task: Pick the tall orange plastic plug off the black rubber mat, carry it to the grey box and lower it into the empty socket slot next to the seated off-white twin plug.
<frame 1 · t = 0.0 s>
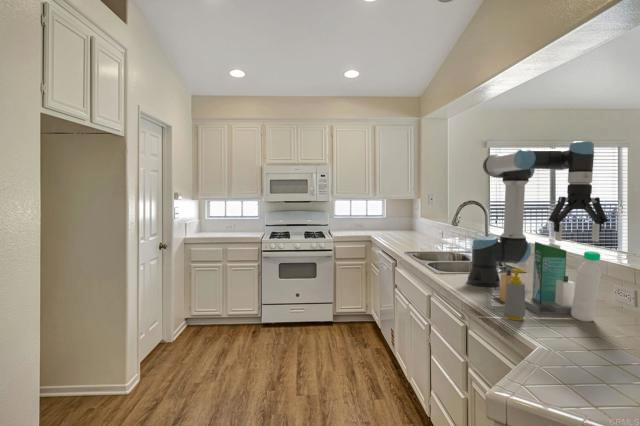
hand: (576, 241, 144), 28 cm above the worktop, fingers open, 13 cm apart
soap bottle: (514, 318, 141), on the worktop
water bottle: (581, 318, 142), on the worktop, touching grey box
plug: (507, 301, 161), point 1 cm above the worktop, touching mat
grey box: (553, 311, 149), on the worktop
milk carton: (547, 302, 163), on the worktop
mat: (507, 302, 161), on the worktop
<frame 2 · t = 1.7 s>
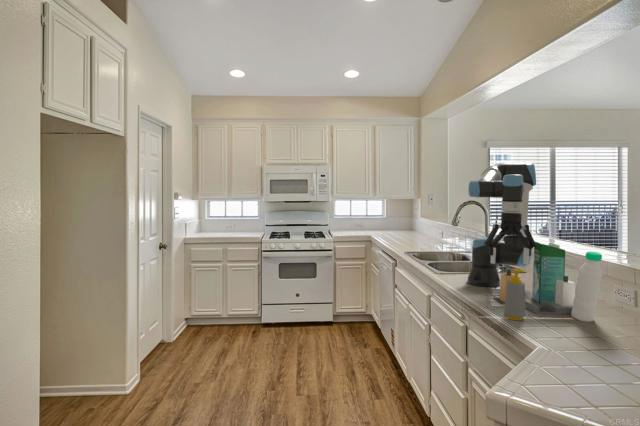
hand: (509, 263, 160), 16 cm above the worktop, fingers open, 13 cm apart
nothing on the worktop moved.
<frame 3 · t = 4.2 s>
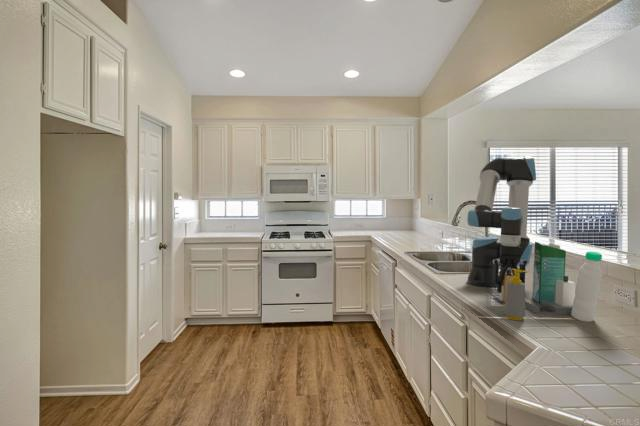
hand: (507, 300, 161), 1 cm above the worktop, fingers closed on mat, 5 cm apart
nothing on the worktop moved.
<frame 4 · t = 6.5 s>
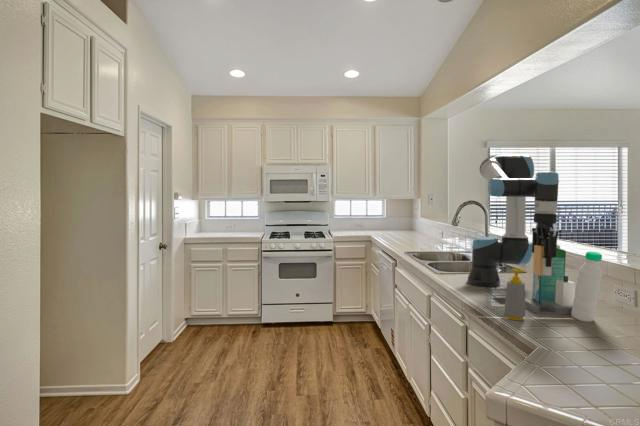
hand: (542, 273, 148), 15 cm above the worktop, fingers closed on plug, 4 cm apart
plug: (542, 274, 148), point 15 cm above the worktop, touching gripper
everything else where it was.
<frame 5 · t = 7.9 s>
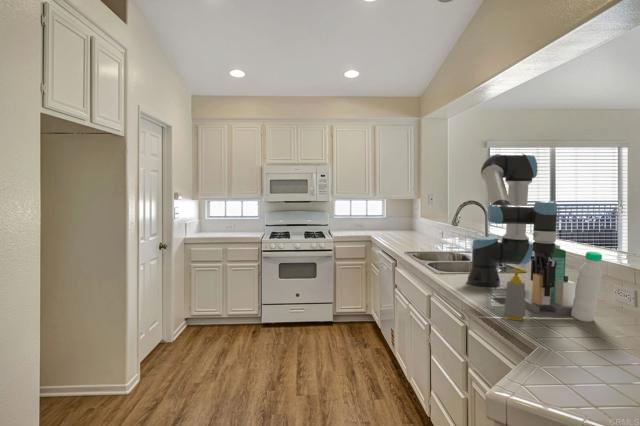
hand: (541, 302, 149), 4 cm above the worktop, fingers closed on plug, 4 cm apart
plug: (540, 303, 149), point 3 cm above the worktop, touching gripper
everything else where it was.
when the fingers open (2 cm above the worktop, at t = 8.7 s): plug stays where it is, resting on grey box.
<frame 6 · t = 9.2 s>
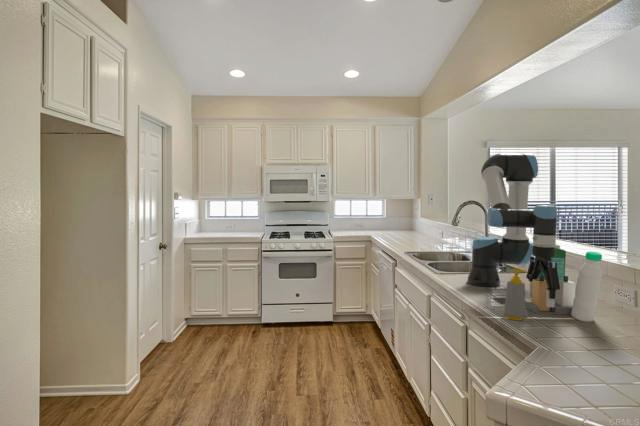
hand: (541, 302, 149), 4 cm above the worktop, fingers open, 11 cm apart
plug: (540, 308, 149), point 1 cm above the worktop, touching grey box
everything else where it was.
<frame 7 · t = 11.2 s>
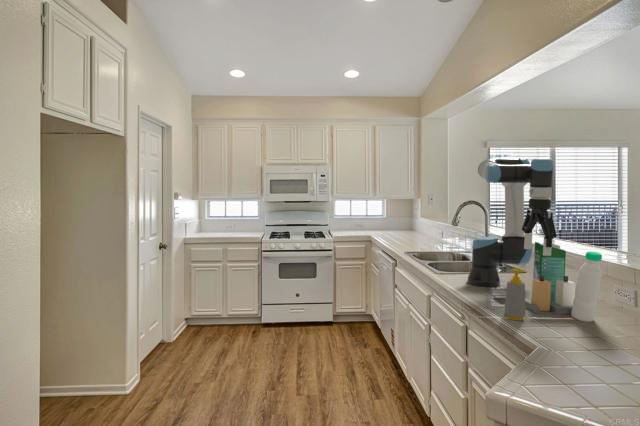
hand: (536, 252, 153), 22 cm above the worktop, fingers open, 13 cm apart
nothing on the worktop moved.
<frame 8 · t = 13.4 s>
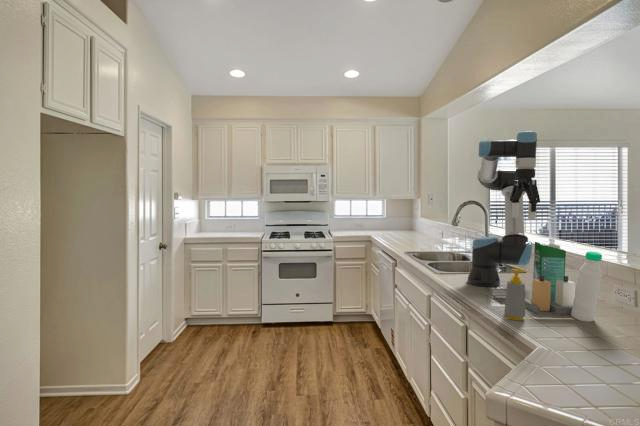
hand: (523, 218, 165), 35 cm above the worktop, fingers open, 13 cm apart
nothing on the worktop moved.
at the end: plug 0.1 cm from the target spot on the grey box, point 1.1 cm above the grey box's base; plug tilted 0°; the gripper is holding nothing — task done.
